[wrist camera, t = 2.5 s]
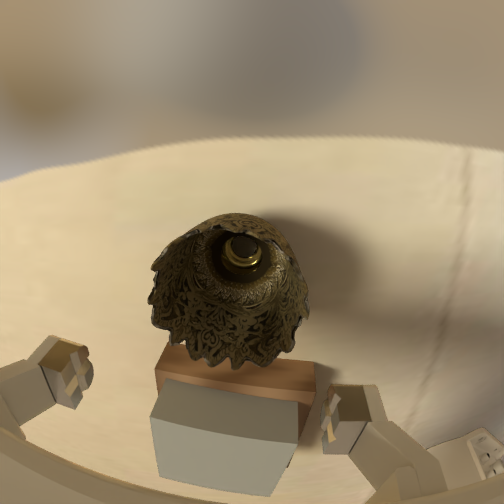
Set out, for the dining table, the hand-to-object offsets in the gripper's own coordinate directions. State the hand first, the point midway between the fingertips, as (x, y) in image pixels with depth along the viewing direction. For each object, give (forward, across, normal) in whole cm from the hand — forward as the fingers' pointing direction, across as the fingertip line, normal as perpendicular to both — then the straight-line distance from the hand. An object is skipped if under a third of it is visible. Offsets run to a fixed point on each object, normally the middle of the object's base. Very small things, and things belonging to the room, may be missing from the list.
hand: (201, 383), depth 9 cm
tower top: (+9, 0, +15) cm, 18 cm away
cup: (+13, 0, 0) cm, 13 cm away
